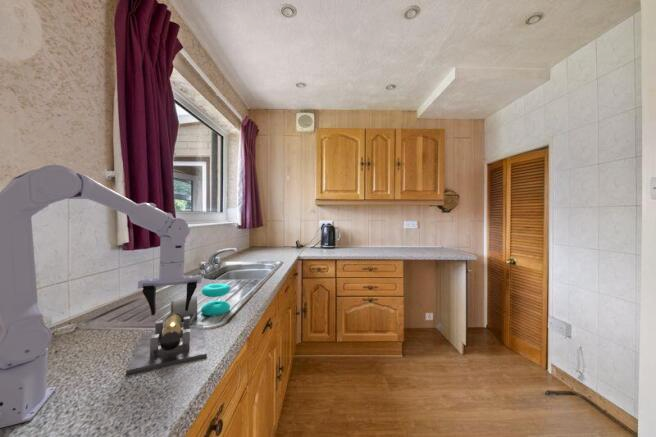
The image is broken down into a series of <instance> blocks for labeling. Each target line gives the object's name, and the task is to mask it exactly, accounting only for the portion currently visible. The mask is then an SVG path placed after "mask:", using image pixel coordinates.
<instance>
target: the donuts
mask: <svg viewBox="0 0 656 437" xmlns="http://www.w3.org/2000/svg"><path fill="white" fill-rule="evenodd" d="M230 292H231V286H230V285H229V284H227V283H220V282H219V283H210V284H208V285H207V284H206V285H205V286H203V287H202V289H201V294H202V295H203V296H205V297H207V298H219V297H223V296H225V295H227V294H230ZM230 308H231V305H230V303H229V302H228V301H226V300H211V301H208V302H206V303H205V304H203V305H202V306H201V309H200V311H201V313H202V314H203V315H205V316H210V317H211V316H212V317H213V316H215V317H216V316H221V315H223V313H224V314H226V313H228V312H229V310H230ZM225 312H226V313H225ZM220 314H221V315H220Z"/></svg>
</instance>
